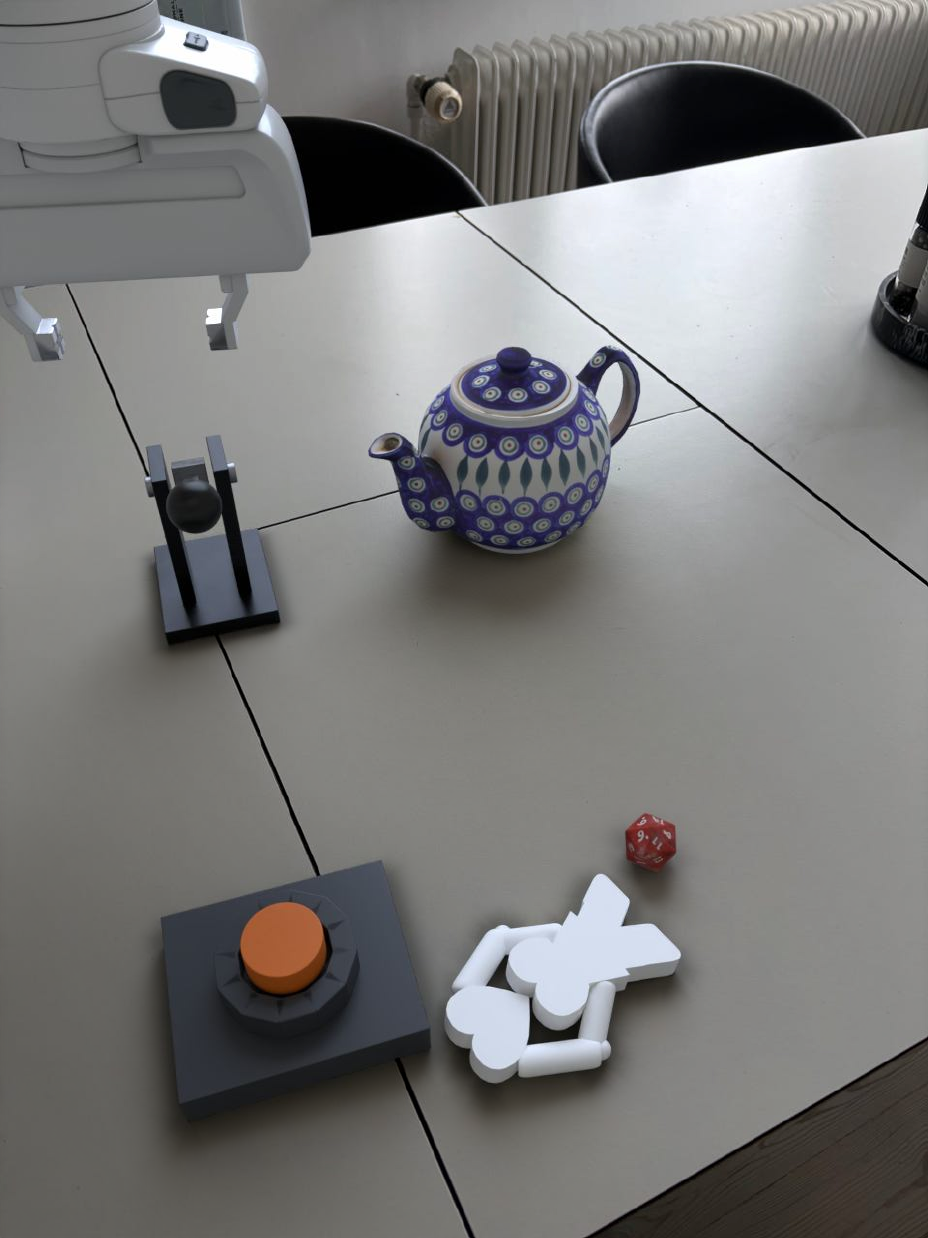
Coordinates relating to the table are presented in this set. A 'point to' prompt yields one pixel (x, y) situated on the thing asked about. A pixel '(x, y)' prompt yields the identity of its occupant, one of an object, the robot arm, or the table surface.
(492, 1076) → the white abstract figurine
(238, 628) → the bracket
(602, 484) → the teapot
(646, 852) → the die
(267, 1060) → the control block
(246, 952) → the button
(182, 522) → the lever
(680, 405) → the table surface
